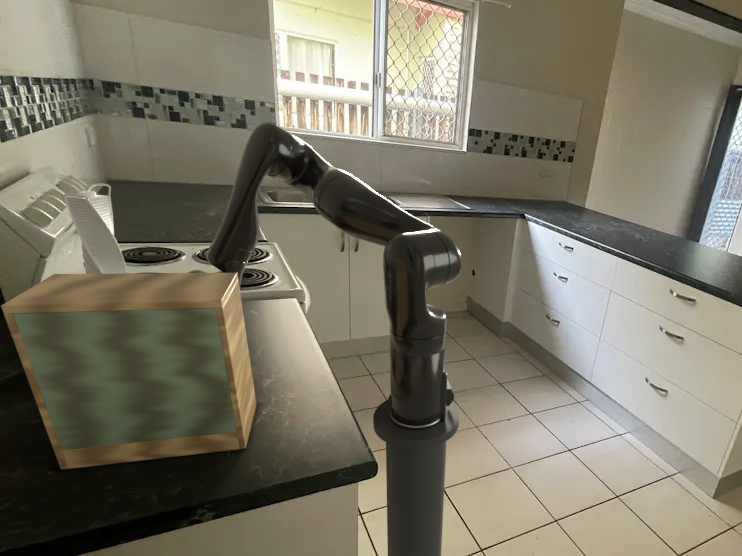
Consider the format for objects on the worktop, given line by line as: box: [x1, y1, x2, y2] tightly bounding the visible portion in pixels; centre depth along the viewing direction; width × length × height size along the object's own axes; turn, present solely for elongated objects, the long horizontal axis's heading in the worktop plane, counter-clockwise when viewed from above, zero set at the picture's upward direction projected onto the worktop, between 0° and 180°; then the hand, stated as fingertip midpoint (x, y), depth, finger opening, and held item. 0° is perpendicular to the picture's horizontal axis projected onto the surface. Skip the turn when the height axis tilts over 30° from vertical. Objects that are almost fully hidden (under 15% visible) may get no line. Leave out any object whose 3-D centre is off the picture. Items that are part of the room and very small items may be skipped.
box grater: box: [63, 182, 128, 274], centre depth 102 cm, size 8×8×28 cm
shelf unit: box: [0, 272, 257, 470], centre depth 66 cm, size 22×12×23 cm, turn 109°
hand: (161, 367), depth 68 cm, fingers open, 8 cm apart
